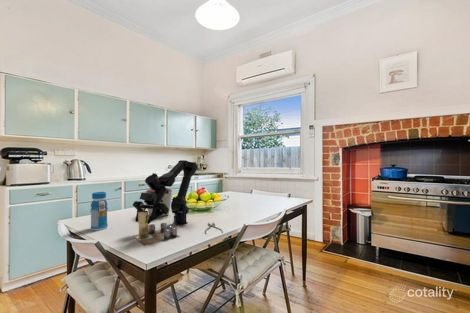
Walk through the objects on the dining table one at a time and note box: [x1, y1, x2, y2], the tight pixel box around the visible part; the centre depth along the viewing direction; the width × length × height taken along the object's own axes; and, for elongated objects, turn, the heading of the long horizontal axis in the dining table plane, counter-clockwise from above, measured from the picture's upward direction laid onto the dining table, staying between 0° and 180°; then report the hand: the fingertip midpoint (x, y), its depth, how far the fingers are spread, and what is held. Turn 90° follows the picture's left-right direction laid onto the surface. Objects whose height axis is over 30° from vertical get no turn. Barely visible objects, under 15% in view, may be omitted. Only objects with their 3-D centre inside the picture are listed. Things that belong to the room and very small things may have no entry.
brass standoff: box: [137, 210, 150, 239], centre depth 112 cm, size 4×4×12 cm
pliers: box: [204, 222, 224, 235], centre depth 129 cm, size 10×1×20 cm
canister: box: [144, 187, 173, 218], centre depth 159 cm, size 18×18×21 cm
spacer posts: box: [148, 222, 178, 241], centre depth 116 cm, size 9×16×4 cm, turn 40°
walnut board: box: [132, 229, 181, 247], centre depth 113 cm, size 18×17×1 cm
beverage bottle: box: [89, 191, 109, 231], centre depth 130 cm, size 8×8×20 cm
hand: (141, 222), depth 110 cm, fingers open, 7 cm apart
